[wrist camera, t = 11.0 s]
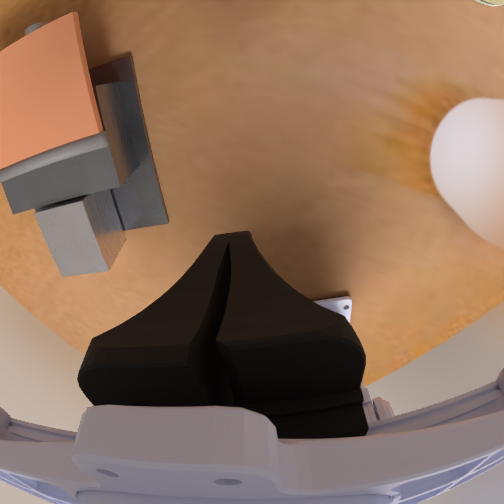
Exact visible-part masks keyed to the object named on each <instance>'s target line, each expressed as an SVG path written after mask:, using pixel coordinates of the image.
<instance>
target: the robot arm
mask: <svg viewBox="0 0 504 504" xmlns="http://www.w3.org/2000/svg"><path fill="white" fill-rule="evenodd" d="M346 305H347V306H346ZM344 306H346V307H344ZM351 307H352V300H351V298H350V297H349V296H345V297H338V298H332V299H325V300H318V301H311V300H310V299H308V298H306V297H305V296H304V295H302V294H301V293H299V292H298V291H296V290H295V289H294V288H292V287H291V286H290V285H289V284H288V283H286V282H285V281H284V280H283V279H282V278H281V277H280V276H279V275H278V274H277V273H276V272H275V271H274V270H273V269H272V267H271V266H270V265H269V264H268V263H267V261H266V260H265V259H264V257H263V256H262V255H261V253H260V252H259V250H258V249H257V247H256V245H255V243H254V241H253V239H252V235H251V233H250V232H249V231H242V232H234V233H226V234H219V235H214V237H213V238H212V239H211V241H210V242H209V243H208V245H207V246H206V247H205V249H204V250H203V252H202V253H201V254H200V256H199V257H198V258H197V259H196V261H195V262H194V263H193V265H192V266H191V267H190V268H189V269H188V270H187V271H186V273H185V274H184V275H183V276H182V277H181V278H180V279H179V280H178V281H177V282H176V283H175V284H174V285H173V286H172V287H171V288H170V289H169V290H168V291H167V292H166V293H164V294H163V295H162V296H161V297H160V298H158V299H157V300H156V301H154V302H153V303H152V304H151V305H149V306H148V307H147V308H145V309H144V310H143V311H141V312H140V313H138V314H136V315H135V316H133V317H132V318H130V319H129V320H127V321H125V322H124V323H122V324H120V325H118V326H116V327H114V328H112V329H110V330H109V331H107V332H105V333H103V334H101V335H99V336H96V337H94V338H92V340H91V343H90V345H89V347H88V350H87V352H86V355H85V357H84V360H83V363H82V365H81V368H80V370H79V373H78V378H77V379H78V383H79V387H80V388H81V390H82V391H83V393H84V394H85V395H86V397H87V398H88V399H89V400H90V402H91V403H92V404H93V405H94V406H92V407H88V408H87V409H86V411H85V412H84V413H83V415H82V418H81V421H80V425H79V428H78V432H72V431H66V430H61V429H56V428H50V427H46V426H42V425H37V424H33V423H29V422H25V421H21V420H17V419H13V418H11V417H10V415H8V413H7V412H5V410H4V409H2V408H1V407H0V480H1V481H3V482H5V483H7V484H9V485H11V486H14V487H16V488H18V489H21V490H23V491H25V492H27V493H29V494H32V495H34V496H37V497H39V498H41V499H44V500H46V501H49V502H52V503H54V504H417V503H420V502H422V501H425V500H427V499H430V498H432V497H435V496H437V495H439V494H441V493H444V492H446V491H448V490H450V489H453V488H455V487H457V486H459V485H461V484H463V483H465V482H467V481H469V480H471V479H473V478H475V477H477V476H479V475H480V474H482V473H484V472H486V471H488V470H490V469H491V468H493V467H495V466H497V465H499V464H500V463H502V462H504V368H503V370H502V371H501V373H500V374H499V376H498V378H497V380H496V381H494V382H492V383H490V384H487V385H485V386H482V387H480V388H478V389H475V390H473V391H470V392H467V393H465V394H462V395H460V396H457V397H454V398H451V399H449V400H446V401H443V402H440V403H437V404H434V405H431V406H428V407H425V408H421V409H418V410H415V411H411V412H408V413H404V414H401V415H397V416H395V415H394V412H393V410H392V408H391V406H390V404H389V402H387V401H386V400H382V398H381V397H377V398H375V399H373V405H372V402H371V399H370V395H369V392H368V389H367V388H365V387H364V383H363V380H362V378H363V374H364V370H365V365H366V355H365V352H364V349H363V347H362V344H361V342H360V340H359V338H358V336H357V335H356V333H355V331H354V329H353V328H352V326H351V325H350V317H351ZM373 406H374V408H373Z"/></svg>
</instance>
